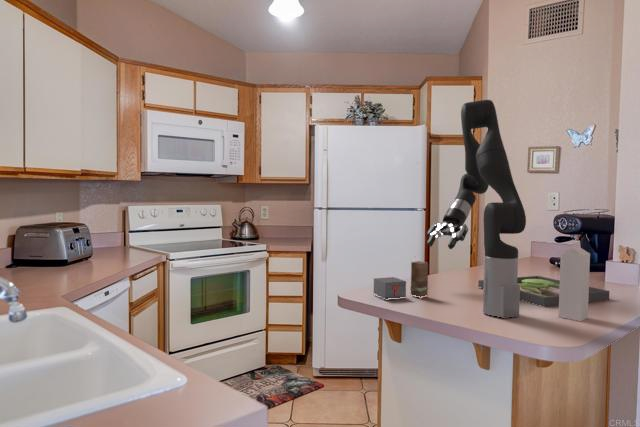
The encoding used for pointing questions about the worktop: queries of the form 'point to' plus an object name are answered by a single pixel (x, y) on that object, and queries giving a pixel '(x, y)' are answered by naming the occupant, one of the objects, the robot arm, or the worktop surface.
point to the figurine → (537, 285)
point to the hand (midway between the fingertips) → (439, 246)
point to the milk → (574, 283)
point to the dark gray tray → (594, 295)
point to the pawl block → (390, 287)
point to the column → (419, 278)
